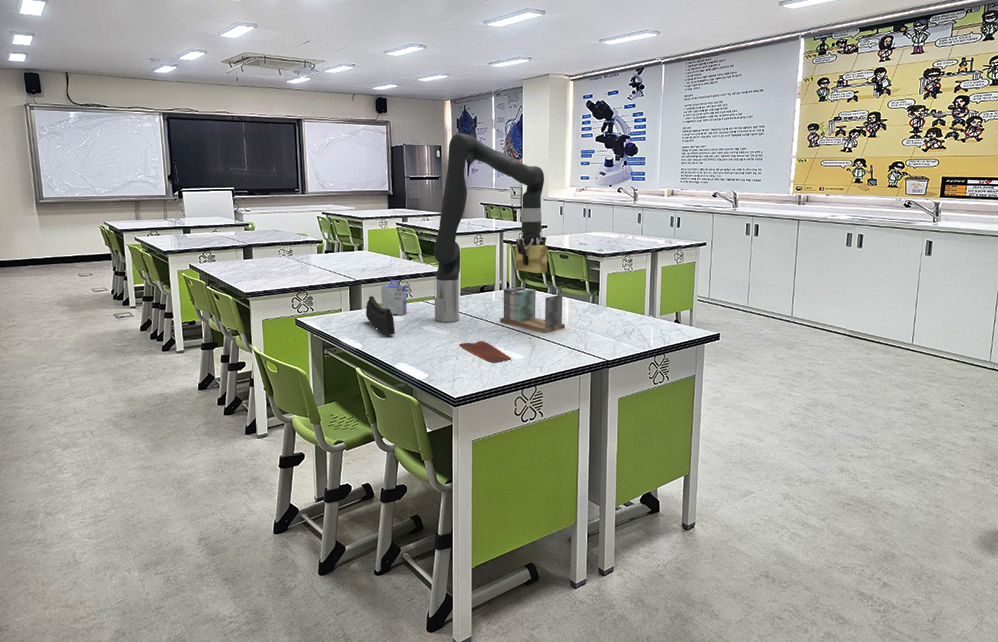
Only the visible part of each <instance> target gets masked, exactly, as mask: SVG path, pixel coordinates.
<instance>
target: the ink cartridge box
mask: <svg viewBox="0 0 998 642" xmlns="http://www.w3.org/2000/svg"><path fill="white" fill-rule="evenodd" d="M394 282H395V283H394ZM380 292H381V293H380V294H381V296H380V298H381V301H380V302H381V307H382V308H384V309H390V310H391V313H392V314H398V315H397V316H403V314H404V315H406V314H407V312H408V311H407V285H399V280H396V279H390V282H389V285H387V284H386V285H383V286H381V287H380ZM405 313H406V314H405Z"/></svg>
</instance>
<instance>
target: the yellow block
mask: <svg viewBox="0 0 998 642" xmlns="http://www.w3.org/2000/svg"><path fill="white" fill-rule="evenodd" d="M523 244H524V243H523ZM524 247H528V246H527V245H524ZM525 252H526V249H525ZM515 270H516V271H522V272H527V273H533V274H541V273H547V272H548V245H546V244H545V245H532V246H530V249H529V254H528V265H527V266H526V265H523V255H521V254H519V253H518V248H517V243H515Z"/></svg>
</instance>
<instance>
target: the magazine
mask: <svg viewBox="0 0 998 642" xmlns="http://www.w3.org/2000/svg"><path fill="white" fill-rule="evenodd" d="M365 310H366V311H365V316H366V318H367V319H368V321H369V322H370V324H371V325H372V326H373V327H375V328H377V329H378V330H379V331H380V332H379V331H378V330H377V331H378V332H379V333H381V334H385V335H388V336H391V335H396V331H395V330H396V329H395V322H394V320H395V319H394V315H393V314H392V313H391V310H390V309H384V308H382V305H380V304H379V303H378V302H377V301H376V299H375V296H371V295H370V296H369V297H368V300H367V302H366V307H365ZM375 328H374V329H375Z"/></svg>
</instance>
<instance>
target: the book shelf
mask: <svg viewBox="0 0 998 642" xmlns="http://www.w3.org/2000/svg"><path fill="white" fill-rule="evenodd" d="M536 293H537V291H536V289H533V288H529V289H528V288H526V287H522V286H518V287H510V288H504V289H503V317H500V318H499V319H500V323H503V324H506V325H512V326H514V327H518V328H523V329H526V330H531V331H535V332H537V333H538V332H539V333H548V332H552V331H553V332H554V331H558V330H562V329H563V330H564V329H565V328H566V324H564V323H563V322H562V321H563V294H559V295H553V296H547V297H545V302H544V303H545V306H544V308H545V309H544V319H542V318H538V317H536V300H537V299H536Z"/></svg>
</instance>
